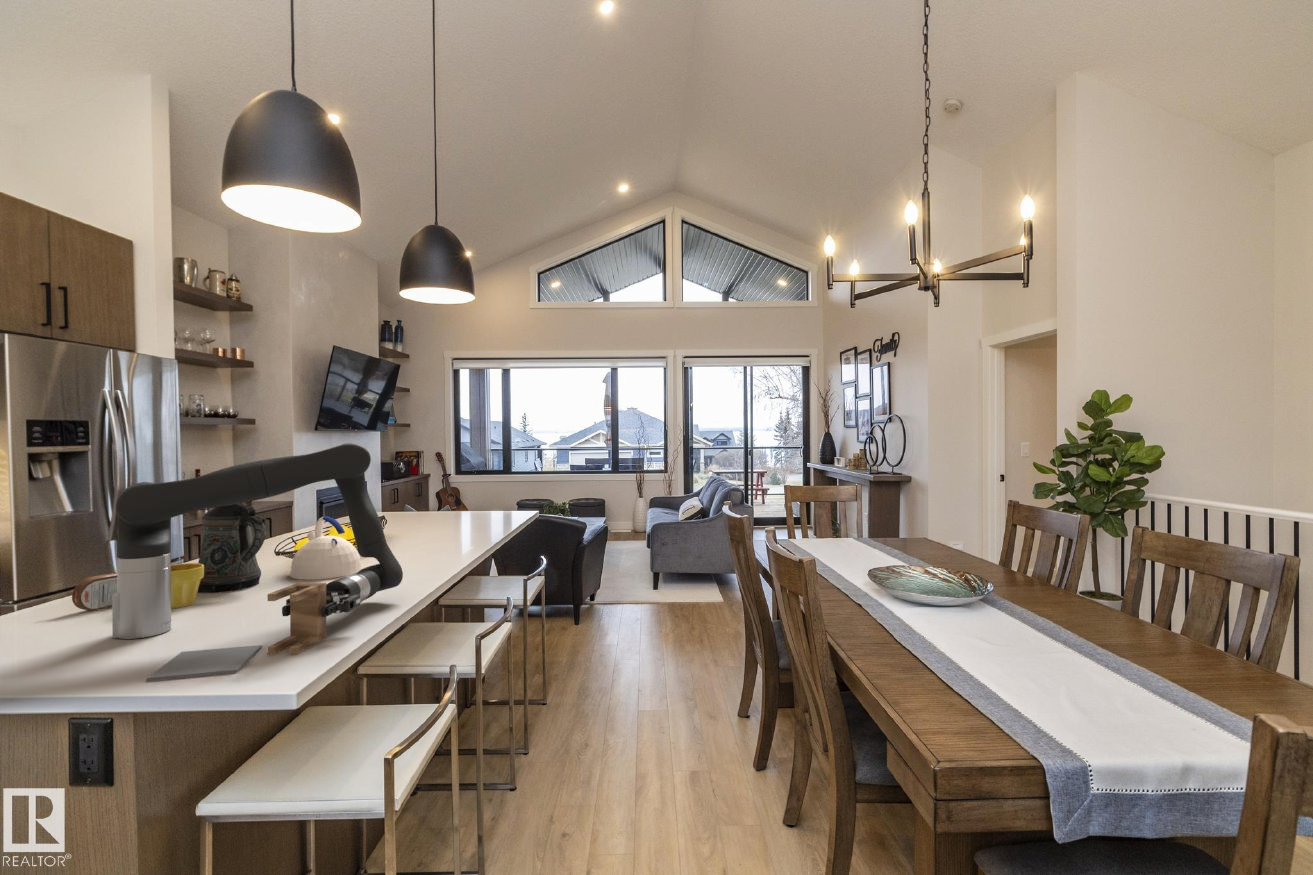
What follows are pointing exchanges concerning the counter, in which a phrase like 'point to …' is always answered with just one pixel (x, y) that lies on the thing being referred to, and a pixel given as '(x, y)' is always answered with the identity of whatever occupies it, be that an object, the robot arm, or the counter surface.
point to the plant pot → (185, 583)
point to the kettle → (325, 555)
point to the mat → (205, 663)
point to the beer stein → (230, 549)
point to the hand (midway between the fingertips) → (303, 612)
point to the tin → (95, 592)
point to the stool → (302, 616)
